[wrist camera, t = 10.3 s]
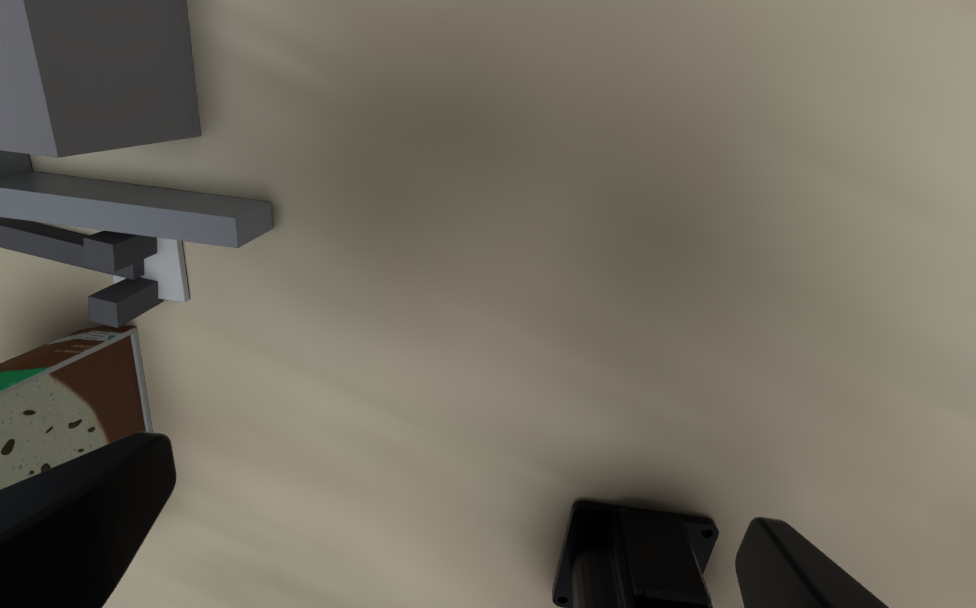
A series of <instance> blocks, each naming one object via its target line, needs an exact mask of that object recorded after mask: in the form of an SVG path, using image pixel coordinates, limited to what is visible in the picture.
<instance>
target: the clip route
mask: <svg viewBox="0 0 976 608" xmlns="http://www.w3.org/2000/svg"><path fill="white" fill-rule="evenodd" d="M0 247H1V248H5V249H9V250H14V251H18V252H22V253H26V254H30V255H34V256H38V257H42V258H46V259H50V260H54V261H58V262H62V263H66V264H70V265H75V266H79V267H83V268H87V269H91V270H95V271H99V272H103V273H107V274H111V275H113V280H114V284H113V285H111V286H109V287H107V288H105V289H103V290H101V291H98V292H96V293H94V294H92V295H90V296H88V302H89V313H90V321H91V322H95V323H99V324H103V325H107V326H111V327H115V328H119V327H121V326H122V325H124V324H126V323H127V322H129V321H131V320H132V319H134V318H136V317H138V316H139V315H141V314H143V313H144V312H146V311H148V310H149V309H151V308H153V307H155V306H156V305H158V304H160V303H161V302H163V299H165V300H173V301H180V302H186V301H187V300H189V292H188V284H187V276H186V269H185V261H184V254H183V246H182V241H181V240H173V239H165V238H158V237H150V236H143V235H135V234H127V233H120V232H112V231H102V232H99V233H96V234H93V235H90V236H87V235H83V234H79V233H75V232H70V231H66V230H62V229H58V228H54V227H50V226H46V225H42V224H38V223H34V222H30V221H26V220H20V219H12V218H5V217H0Z"/></svg>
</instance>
